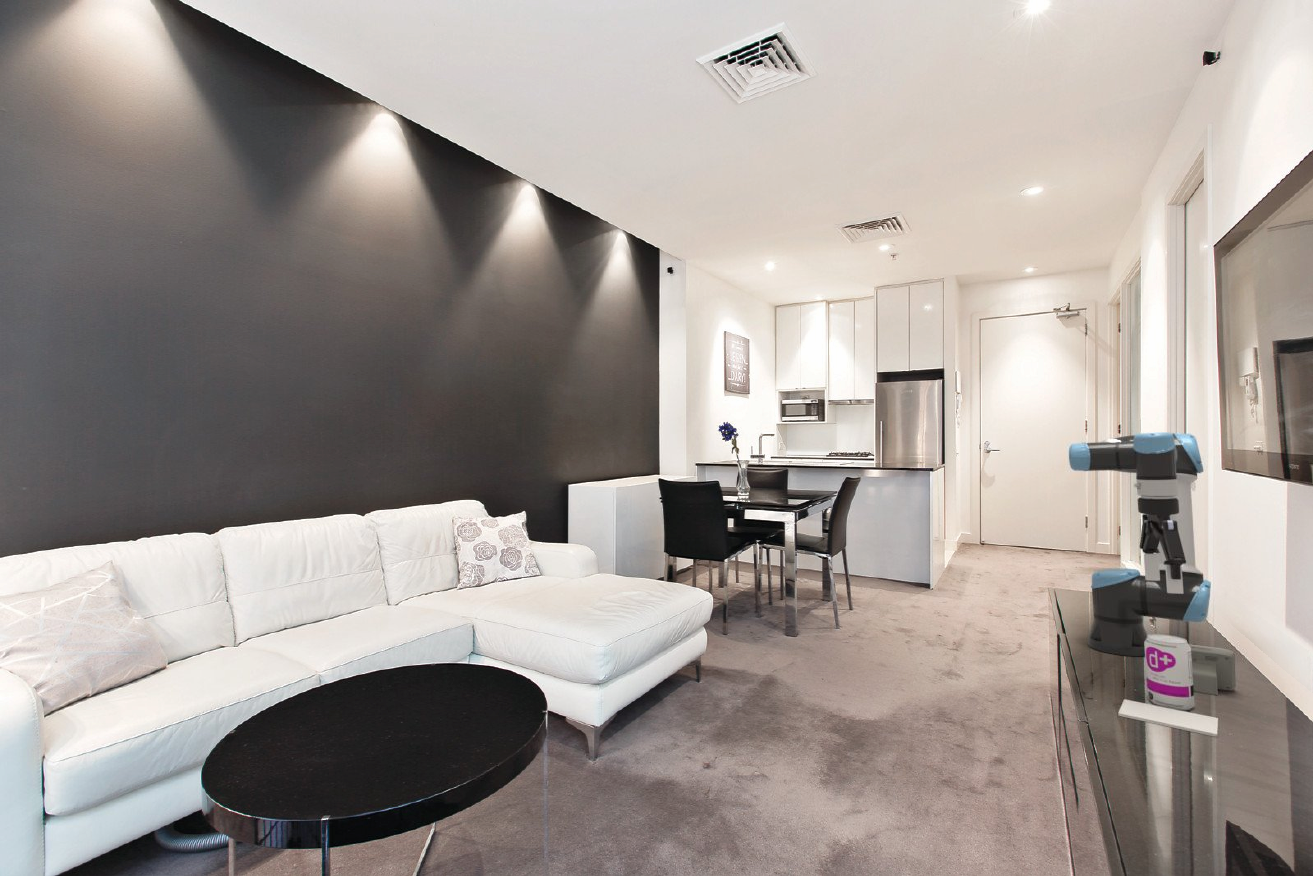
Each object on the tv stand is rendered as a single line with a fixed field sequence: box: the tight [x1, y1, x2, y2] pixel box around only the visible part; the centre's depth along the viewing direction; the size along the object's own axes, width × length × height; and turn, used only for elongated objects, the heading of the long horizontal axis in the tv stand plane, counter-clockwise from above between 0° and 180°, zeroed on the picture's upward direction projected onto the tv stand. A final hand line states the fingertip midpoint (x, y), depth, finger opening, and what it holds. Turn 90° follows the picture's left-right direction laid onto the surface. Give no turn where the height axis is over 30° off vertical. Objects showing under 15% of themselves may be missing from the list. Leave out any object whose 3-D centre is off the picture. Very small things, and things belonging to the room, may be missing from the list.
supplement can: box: [1144, 633, 1196, 711], centre depth 138 cm, size 8×8×15 cm
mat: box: [1117, 698, 1219, 738], centre depth 130 cm, size 10×16×1 cm, turn 46°
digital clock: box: [1188, 643, 1237, 696], centre depth 147 cm, size 16×9×11 cm, turn 39°
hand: (1163, 586), depth 142 cm, fingers open, 13 cm apart
